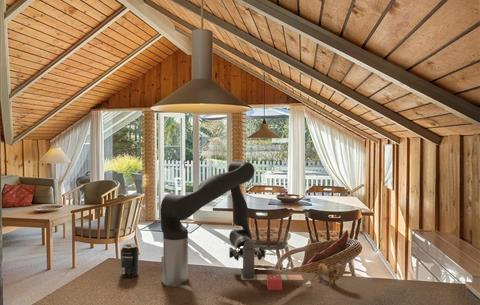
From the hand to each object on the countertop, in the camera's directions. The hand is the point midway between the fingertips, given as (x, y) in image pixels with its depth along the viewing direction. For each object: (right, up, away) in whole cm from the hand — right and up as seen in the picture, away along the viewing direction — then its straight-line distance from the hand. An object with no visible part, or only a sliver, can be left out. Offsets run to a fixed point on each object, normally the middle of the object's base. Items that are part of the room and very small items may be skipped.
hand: (248, 257), depth 140 cm
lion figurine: (+30, -10, -2) cm, 32 cm away
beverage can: (-47, -9, +5) cm, 49 cm away
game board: (+9, -9, +1) cm, 13 cm away
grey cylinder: (0, -8, +1) cm, 8 cm away
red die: (+9, -9, -9) cm, 16 cm away
